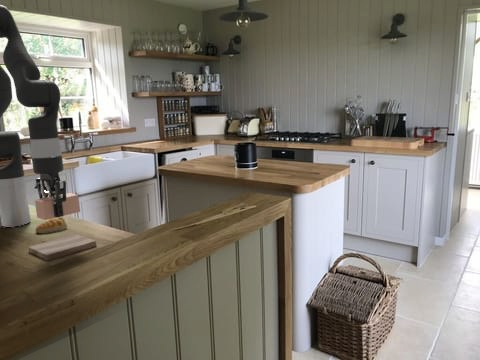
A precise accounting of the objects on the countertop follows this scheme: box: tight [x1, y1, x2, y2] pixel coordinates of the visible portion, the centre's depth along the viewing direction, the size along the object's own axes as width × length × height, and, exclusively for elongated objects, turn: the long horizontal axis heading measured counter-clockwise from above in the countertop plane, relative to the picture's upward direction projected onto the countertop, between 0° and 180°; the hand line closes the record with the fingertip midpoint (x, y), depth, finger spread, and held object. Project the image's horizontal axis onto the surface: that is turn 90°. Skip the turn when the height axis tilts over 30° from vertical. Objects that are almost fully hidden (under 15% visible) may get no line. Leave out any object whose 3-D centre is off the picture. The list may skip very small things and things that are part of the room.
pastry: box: [35, 216, 68, 234], centre depth 136 cm, size 9×7×4 cm
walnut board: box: [27, 233, 97, 261], centre depth 116 cm, size 12×14×2 cm
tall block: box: [34, 192, 81, 221], centre depth 114 cm, size 5×5×10 cm
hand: (54, 215), depth 114 cm, fingers closed on tall block, 5 cm apart
